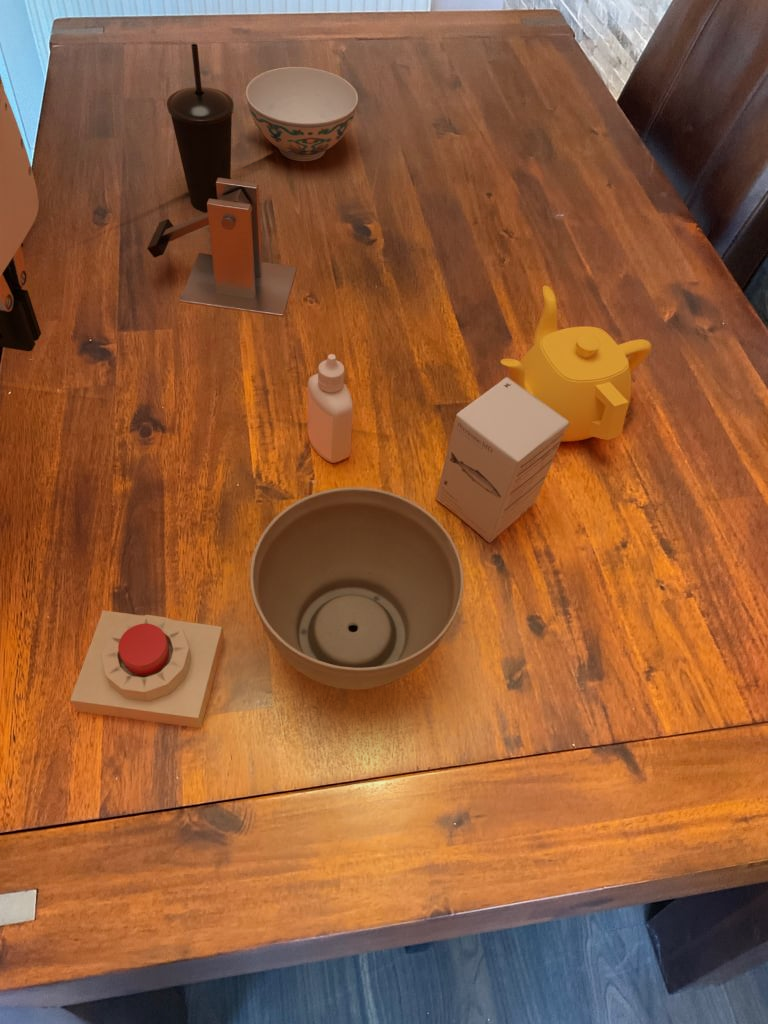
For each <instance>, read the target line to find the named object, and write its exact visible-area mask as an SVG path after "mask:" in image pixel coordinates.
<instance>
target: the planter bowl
mask: <svg viewBox="0 0 768 1024" xmlns="http://www.w3.org/2000/svg"><path fill="white" fill-rule="evenodd" d="M251 557H252V558H251V560H250V561H251V562H250V567H249V587H250V594H251V597H252V598H251V599H252V602H253V605H254V608H255V611H256V613H257V615H258V618H259V620H260V622H261V625H262V627H263V629H264V631H265V633H266V635H267V637H268V639H269V641H270V642H271V644H272V645H273V647H274V649H275V650H276V651H277V652H278V654H279V655H280V657H282V658H283V659H284V660H285V661H286V662H287V663H288V664H289V665H290V666H291V667H292V668H294V669H295V670H296V671H298V672H299V673H301V674H302V675H304V676H306V677H307V678H309V679H311V680H312V681H315V682H317V683H320V684H322V685H325V686H328V687H332V688H336V689H342V690H367V689H374V688H379V687H382V686H385V685H388V684H391V683H393V682H396V681H397V680H399V679H401V678H403V677H405V676H407V675H408V674H410V673H411V672H413V671H414V670H416V669H417V668H418V667H420V666H421V665H422V664H423V663H424V662H425V661H426V660H427V659H428V658H429V657H430V656H431V654H432V653H433V652H434V651H435V650H436V649H437V647H438V646H439V644H441V641H442V640H443V638H444V637H445V635H446V633H447V632H448V631H449V629H450V628H451V627H452V624H453V623H454V621H455V619H456V616H457V614H458V612H459V609H460V606H461V602H462V598H463V594H464V571H463V570H464V569H463V565H462V561H461V557H460V554H459V551H458V549H457V546H456V544H455V542H454V541H453V539H452V537H451V535H450V534H449V533H448V531H447V530H446V529H445V527H444V526H443V524H442V523H441V522H440V521H439V520H437V518H435V517H434V516H433V515H432V514H431V513H430V512H429V511H428V510H426V509H425V508H423V507H422V506H420V505H419V504H417V503H416V502H414V501H412V500H411V499H408V498H406V497H404V496H402V495H398V494H396V493H393V492H390V491H386V490H383V489H378V488H373V487H363V486H362V487H361V486H345V487H336V488H331V489H326V490H322V491H318V492H315V493H312V494H310V495H307V496H304V497H302V498H301V499H298V500H296V501H294V502H293V503H291V504H290V505H288V506H287V507H285V508H284V509H282V510H281V511H280V512H279V513H278V514H277V515H276V516H275V517H274V518H273V519H272V520H271V521H270V522H269V523H268V525H267V526H266V527H265V529H264V530H263V532H262V533H261V535H260V536H259V538H258V540H257V543H256V545H255V548H254V550H253V553H252V556H251ZM351 626H355V627H356V628H357V629H356V631H351V630H350V629H349V627H351Z"/></svg>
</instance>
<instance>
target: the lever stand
mask: <svg viewBox="0 0 768 1024" xmlns="http://www.w3.org/2000/svg"><path fill="white" fill-rule="evenodd" d="M259 187H260V186H259V182H254V181H247V180H238V179H225V178H218V179H217V181H216V189H217V199H218V200H216V199H209V200H208V202H207V210H208V220H209V226H208V229H209V237H210V239H209V240H210V247H211V254H209V253H202V252H198V253H197V256H196V259H195V261H194V264H193V266H192V268H191V270H190V273H189V276H188V278H187V280H186V283H185V286H184V288H183V290H182V293H181V295H180V297H179V300H178V302H179V303H182V304H183V303H184V304H189V305H190V304H191V305H197V306H205V307H210V308H211V307H212V308H219V309H225V310H233V311H239V312H240V311H241V312H247V313H253V314H254V313H255V314H260V315H261V314H262V315H268V316H275V317H284V316H285V313H286V309H287V305H288V303H289V299H290V295H291V291H292V289H293V284H294V281H295V277H296V274H297V270H298V267H297V265H296V266H294V265H289V264H281V263H273V262H266V261H263V256H262V233H261V229H262V228H261V211H260V190H259ZM239 189H241V190H242V192H243V193H244V195H245V196H246V198H247V199H248V201H249V202H250V204H245V203H238V202H231V201H224V200H219V198H220V197H223V196H225V195H227V194H230V193H232V192H235V191H237V190H239ZM251 205H252V207H253V208H252V211H251Z"/></svg>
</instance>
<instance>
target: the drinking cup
mask: <svg viewBox="0 0 768 1024" xmlns="http://www.w3.org/2000/svg"><path fill="white" fill-rule="evenodd" d="M190 45H191V55H192V64H193V65H192V66H193V75H194V84H195V85H194V86H192V87H185V88H182V89H179V90H177V91H175V92H173V93H172V94H170V96H169V97H168V98H167V100H166V109H167V112H168V114H169V115H170V118H171V122H172V126H173V130H174V134H175V139H176V143H177V148H178V152H179V158H180V161H181V165H182V170H183V175H184V178H185V183H186V188H187V192H188V196H189V201H190V204H191V206H192V207H193V208H194V209H195V210H197V211H199V212H201V213H207V212H208V210H207V202H208V200H209V199H216V200H218V199H217V189H216V181H217V179H218V178H225V179H231V177H232V176H231V175H232V173H231V171H232V122H233V121H232V119H233V118H232V117H233V116H232V115H233V113H234V110H235V103H234V101H233V98H232V97H231V96H230V95H229V94H227V93H226V92H224V91H222V90H219V89H217V88H213V87H207V86H202V76H201V75H202V74H201V67H200V56H199V46H198V44H196V43H192V44H190Z"/></svg>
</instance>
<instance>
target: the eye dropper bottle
mask: <svg viewBox="0 0 768 1024" xmlns="http://www.w3.org/2000/svg"><path fill="white" fill-rule="evenodd" d="M345 369H346V368H345V366H344V364H343V363H342V362H341V361H339V360H338V359H337V356H336V355H335V354H334V353H330V354H328V356H327V359H325V360H323V361H321V362H320V363H319V365H318V367H317V373H315V374H312V375H311V376H310V377H309V378H308V381H307V389H306V390H307V392H306V393H307V397H306V432H307V437H308V441H309V442H310V445H311V447H312V448H313V449H314V451H315V452H316V454H318V455H319V456H320V457H321V458H322V459H324V460H325V461H326V462H329V463H332V464H336V463H338V462H340V461H343V460H345V459H347V458H349V457H350V456H351V449H352V448H351V447H352V434H353V421H354V403H353V398H352V395H351V392H350V390H349V389H348V387H347V385H346V384H345Z"/></svg>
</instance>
